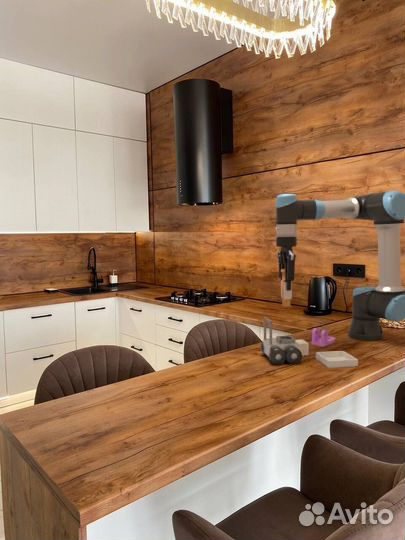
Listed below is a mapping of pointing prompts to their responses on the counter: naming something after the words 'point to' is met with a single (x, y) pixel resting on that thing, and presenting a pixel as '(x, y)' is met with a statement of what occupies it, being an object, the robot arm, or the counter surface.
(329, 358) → the tray
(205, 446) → the counter surface
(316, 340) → the bracket
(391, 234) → the robot arm
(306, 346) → the off-white matte cube
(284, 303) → the pin
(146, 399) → the counter surface
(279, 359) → the trolley
